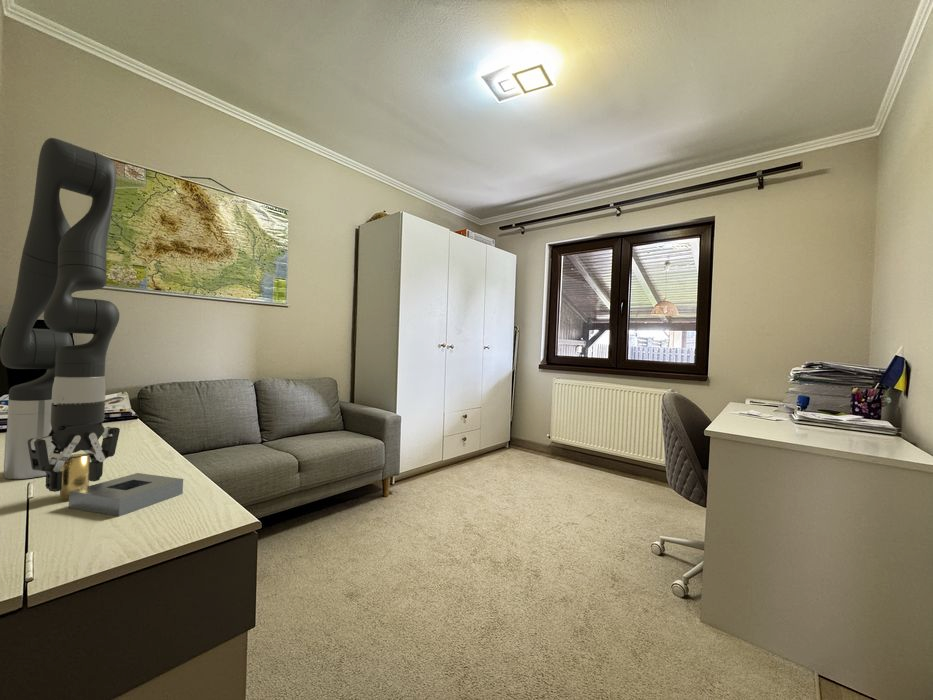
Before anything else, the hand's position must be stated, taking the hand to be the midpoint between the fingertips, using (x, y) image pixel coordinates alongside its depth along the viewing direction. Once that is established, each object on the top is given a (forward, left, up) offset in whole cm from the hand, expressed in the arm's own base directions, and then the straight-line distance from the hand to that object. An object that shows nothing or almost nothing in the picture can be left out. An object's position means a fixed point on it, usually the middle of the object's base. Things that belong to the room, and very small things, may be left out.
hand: (75, 485), depth 77 cm
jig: (+11, +2, -2) cm, 11 cm away
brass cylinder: (0, 0, -2) cm, 2 cm away
